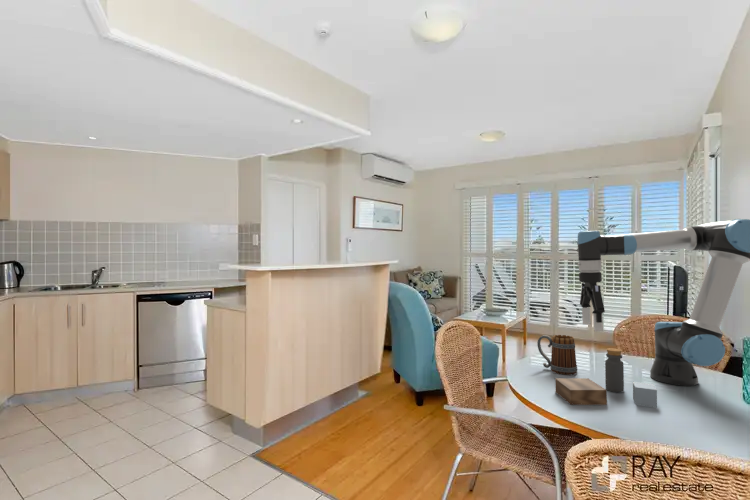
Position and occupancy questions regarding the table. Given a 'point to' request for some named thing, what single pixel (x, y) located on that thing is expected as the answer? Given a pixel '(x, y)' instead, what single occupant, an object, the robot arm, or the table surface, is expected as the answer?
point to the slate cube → (645, 394)
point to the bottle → (614, 371)
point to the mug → (560, 354)
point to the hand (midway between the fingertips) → (592, 327)
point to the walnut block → (581, 391)
